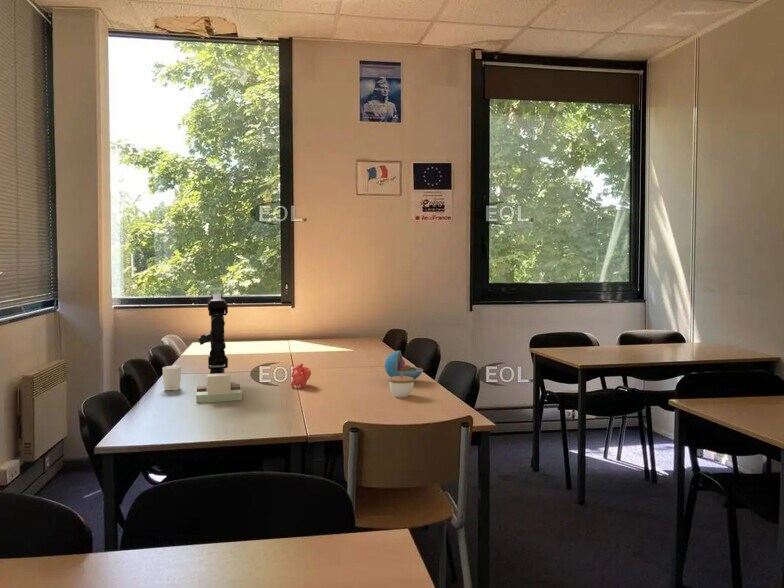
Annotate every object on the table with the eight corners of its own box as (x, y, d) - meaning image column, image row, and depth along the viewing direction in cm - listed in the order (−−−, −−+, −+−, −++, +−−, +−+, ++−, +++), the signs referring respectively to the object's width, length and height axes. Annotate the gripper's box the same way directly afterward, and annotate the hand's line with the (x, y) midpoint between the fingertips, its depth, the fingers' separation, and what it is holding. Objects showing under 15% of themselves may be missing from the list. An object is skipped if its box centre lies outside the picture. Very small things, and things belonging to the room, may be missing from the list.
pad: (196, 399, 252) (196, 392, 252) (240, 396, 257) (240, 389, 257) (196, 402, 246) (196, 395, 245) (241, 400, 251) (241, 392, 251)
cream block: (207, 391, 252) (207, 374, 252) (230, 390, 255) (229, 373, 254) (207, 394, 247) (207, 376, 247) (230, 393, 250) (230, 375, 249)
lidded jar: (385, 394, 264) (385, 373, 263) (408, 392, 268) (408, 371, 267) (394, 399, 254) (394, 377, 253) (417, 397, 258) (417, 376, 257)
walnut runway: (197, 392, 264) (197, 385, 263) (239, 390, 269) (239, 383, 269) (196, 399, 252) (196, 392, 252) (240, 396, 257) (240, 389, 257)
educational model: (420, 385, 282) (420, 353, 281) (381, 383, 286) (381, 352, 285) (425, 379, 297) (425, 349, 297) (388, 377, 301) (388, 347, 300)
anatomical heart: (307, 386, 285) (313, 363, 284) (306, 392, 273) (313, 368, 273) (288, 382, 284) (295, 358, 283) (287, 388, 272) (294, 363, 272)
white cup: (161, 391, 265) (161, 369, 264) (163, 387, 273) (163, 366, 272) (180, 390, 267) (180, 368, 267) (182, 387, 275) (181, 365, 274)
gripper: (199, 325, 278) (199, 359, 279) (198, 330, 260) (199, 366, 261) (224, 325, 281) (224, 358, 282) (225, 329, 263) (225, 365, 264)
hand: (217, 361), depth 272 cm, fingers closed
